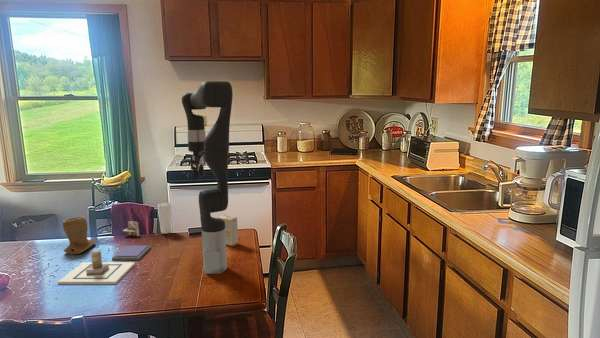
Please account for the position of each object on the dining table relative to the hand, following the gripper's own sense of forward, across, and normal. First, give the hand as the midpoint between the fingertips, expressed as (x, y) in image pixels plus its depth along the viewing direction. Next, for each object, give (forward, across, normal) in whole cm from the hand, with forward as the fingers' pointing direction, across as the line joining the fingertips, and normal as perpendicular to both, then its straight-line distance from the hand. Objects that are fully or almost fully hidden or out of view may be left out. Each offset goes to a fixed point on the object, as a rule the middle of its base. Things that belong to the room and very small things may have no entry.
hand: (198, 176), depth 183 cm
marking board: (+34, -24, +36) cm, 55 cm away
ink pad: (+34, -4, +31) cm, 46 cm away
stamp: (+33, -24, +36) cm, 54 cm away
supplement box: (+34, +9, -10) cm, 37 cm away
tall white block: (+34, +25, +25) cm, 49 cm away
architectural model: (+35, +20, +40) cm, 57 cm away
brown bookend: (+34, +2, +58) cm, 67 cm away
